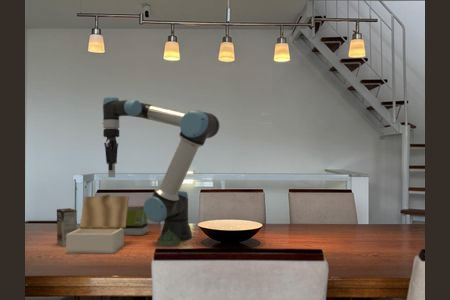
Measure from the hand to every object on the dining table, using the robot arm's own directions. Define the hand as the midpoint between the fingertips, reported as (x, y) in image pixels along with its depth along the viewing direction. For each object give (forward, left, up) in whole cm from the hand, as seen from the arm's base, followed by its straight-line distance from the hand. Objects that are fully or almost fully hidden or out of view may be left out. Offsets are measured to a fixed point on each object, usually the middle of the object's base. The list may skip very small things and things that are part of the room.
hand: (111, 177), depth 187 cm
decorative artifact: (-30, +10, -31) cm, 44 cm away
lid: (0, +11, -15) cm, 19 cm away
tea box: (-5, -14, -31) cm, 34 cm away
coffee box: (+18, +10, -31) cm, 37 cm away
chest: (0, +20, -30) cm, 36 cm away
